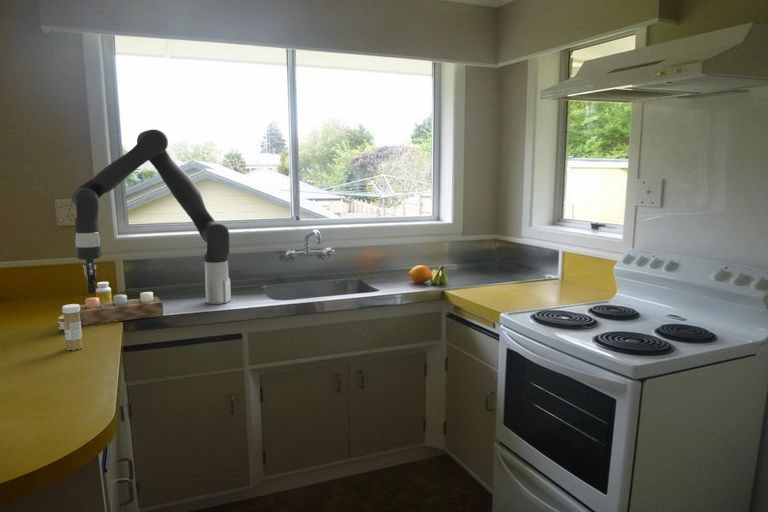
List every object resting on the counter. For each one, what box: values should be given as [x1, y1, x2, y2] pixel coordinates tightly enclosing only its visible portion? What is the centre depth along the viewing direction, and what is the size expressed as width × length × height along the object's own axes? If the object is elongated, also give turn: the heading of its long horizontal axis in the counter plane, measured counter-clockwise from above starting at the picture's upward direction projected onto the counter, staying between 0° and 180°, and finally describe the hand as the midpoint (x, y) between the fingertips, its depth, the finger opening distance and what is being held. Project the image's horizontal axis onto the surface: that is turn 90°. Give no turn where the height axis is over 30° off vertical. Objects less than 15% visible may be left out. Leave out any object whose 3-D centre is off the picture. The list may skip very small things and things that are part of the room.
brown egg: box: [84, 296, 100, 309], centre depth 187 cm, size 4×4×5 cm
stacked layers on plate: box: [57, 314, 64, 330], centre depth 175 cm, size 10×9×6 cm
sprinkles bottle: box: [61, 303, 84, 351], centre depth 156 cm, size 5×5×13 cm
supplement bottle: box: [95, 281, 113, 303], centre depth 207 cm, size 5×5×10 cm
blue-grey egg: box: [112, 294, 128, 306], centre depth 192 cm, size 4×4×5 cm
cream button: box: [139, 291, 154, 303], centre depth 197 cm, size 4×4×5 cm
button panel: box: [79, 296, 164, 326], centre depth 192 cm, size 27×11×5 cm, turn 123°
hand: (91, 292), depth 186 cm, fingers closed
